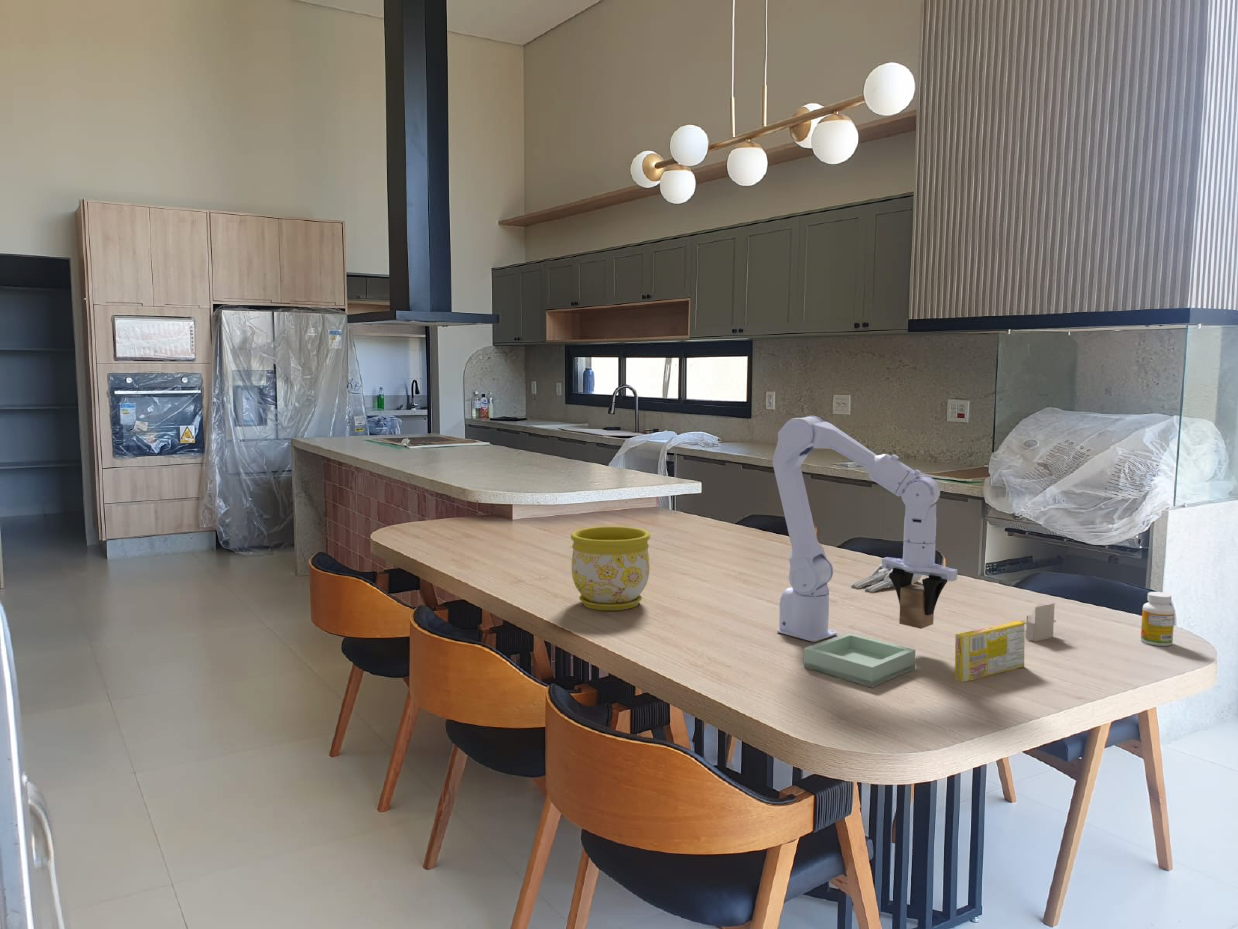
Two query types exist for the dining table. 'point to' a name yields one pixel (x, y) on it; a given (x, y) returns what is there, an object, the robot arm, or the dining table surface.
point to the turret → (880, 580)
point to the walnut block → (914, 607)
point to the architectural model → (1040, 622)
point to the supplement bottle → (1158, 620)
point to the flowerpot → (610, 566)
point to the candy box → (989, 651)
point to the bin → (859, 659)
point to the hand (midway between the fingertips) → (916, 611)
